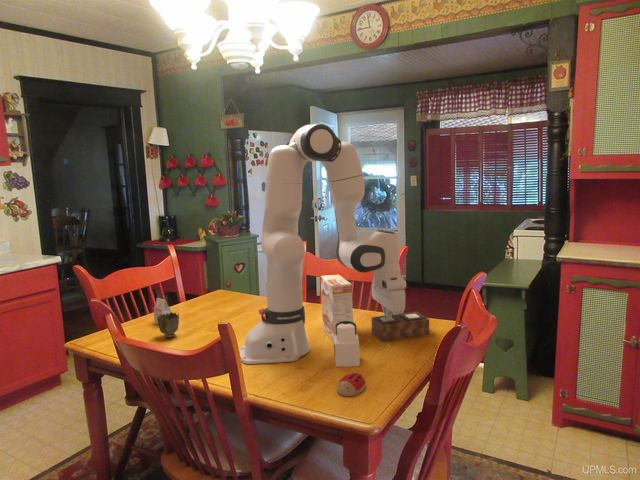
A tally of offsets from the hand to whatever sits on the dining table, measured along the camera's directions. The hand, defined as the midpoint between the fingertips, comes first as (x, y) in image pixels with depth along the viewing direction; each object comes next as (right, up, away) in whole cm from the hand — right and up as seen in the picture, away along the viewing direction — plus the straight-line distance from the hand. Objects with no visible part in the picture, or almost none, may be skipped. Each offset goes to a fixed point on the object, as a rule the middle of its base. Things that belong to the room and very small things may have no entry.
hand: (387, 318), depth 161 cm
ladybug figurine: (-15, -13, -36) cm, 41 cm away
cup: (-76, -8, +8) cm, 76 cm away
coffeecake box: (-17, -6, +4) cm, 18 cm away
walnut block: (+4, -6, +2) cm, 7 cm away
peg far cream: (+9, -5, +3) cm, 11 cm away
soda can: (+6, -3, +22) cm, 23 cm away
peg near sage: (0, -6, +1) cm, 6 cm away
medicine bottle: (-15, -10, -19) cm, 26 cm away
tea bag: (-83, -6, +23) cm, 86 cm away
